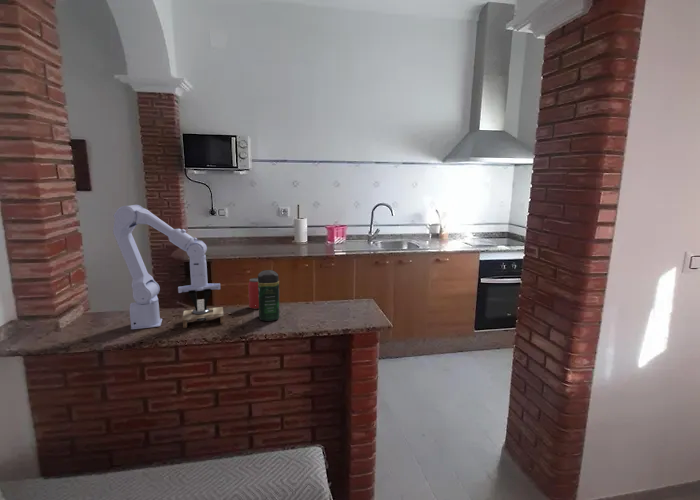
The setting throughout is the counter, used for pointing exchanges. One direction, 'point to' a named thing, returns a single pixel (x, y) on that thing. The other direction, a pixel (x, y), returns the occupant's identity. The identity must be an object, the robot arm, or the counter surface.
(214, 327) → the counter surface
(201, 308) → the hanger peg
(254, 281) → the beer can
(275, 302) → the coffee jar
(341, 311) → the counter surface
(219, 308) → the keyhole bridge
